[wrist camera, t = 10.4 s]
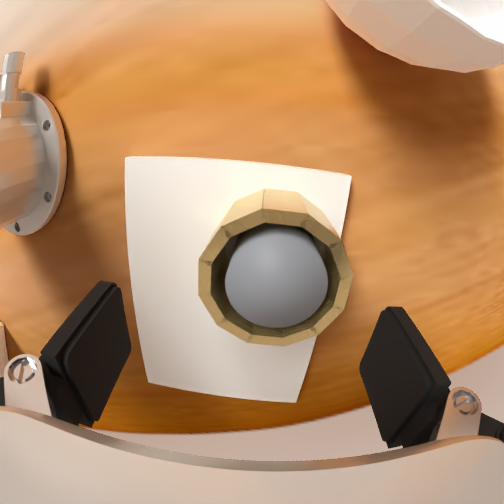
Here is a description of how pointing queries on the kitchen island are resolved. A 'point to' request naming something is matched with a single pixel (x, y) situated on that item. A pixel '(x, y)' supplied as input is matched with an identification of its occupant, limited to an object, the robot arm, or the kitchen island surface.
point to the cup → (430, 30)
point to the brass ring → (278, 212)
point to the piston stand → (237, 277)
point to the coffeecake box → (3, 351)
